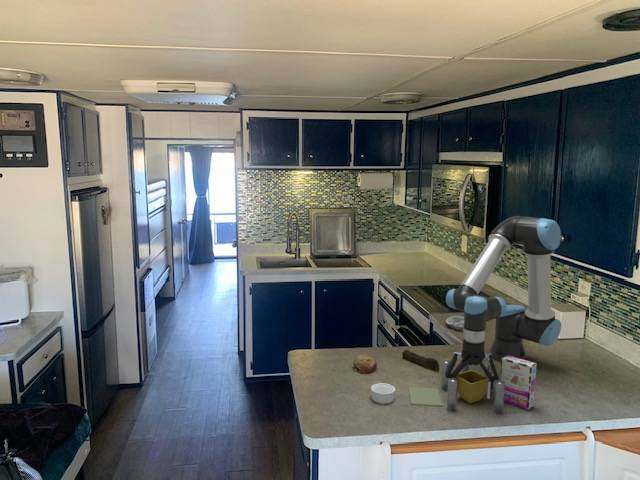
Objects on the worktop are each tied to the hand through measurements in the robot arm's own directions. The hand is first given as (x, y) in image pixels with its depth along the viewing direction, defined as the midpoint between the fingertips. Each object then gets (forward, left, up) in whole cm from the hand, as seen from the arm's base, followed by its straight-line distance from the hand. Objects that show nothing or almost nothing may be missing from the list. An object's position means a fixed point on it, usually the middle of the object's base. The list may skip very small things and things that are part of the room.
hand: (470, 396), depth 187 cm
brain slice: (-11, -81, -2) cm, 82 cm away
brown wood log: (+15, -30, -2) cm, 34 cm away
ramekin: (+32, +3, -2) cm, 32 cm away
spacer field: (0, -2, -1) cm, 2 cm away
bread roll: (+39, -23, -2) cm, 45 cm away
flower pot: (0, 0, -1) cm, 1 cm away
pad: (+16, 0, -1) cm, 17 cm away
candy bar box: (-16, +1, -1) cm, 16 cm away
